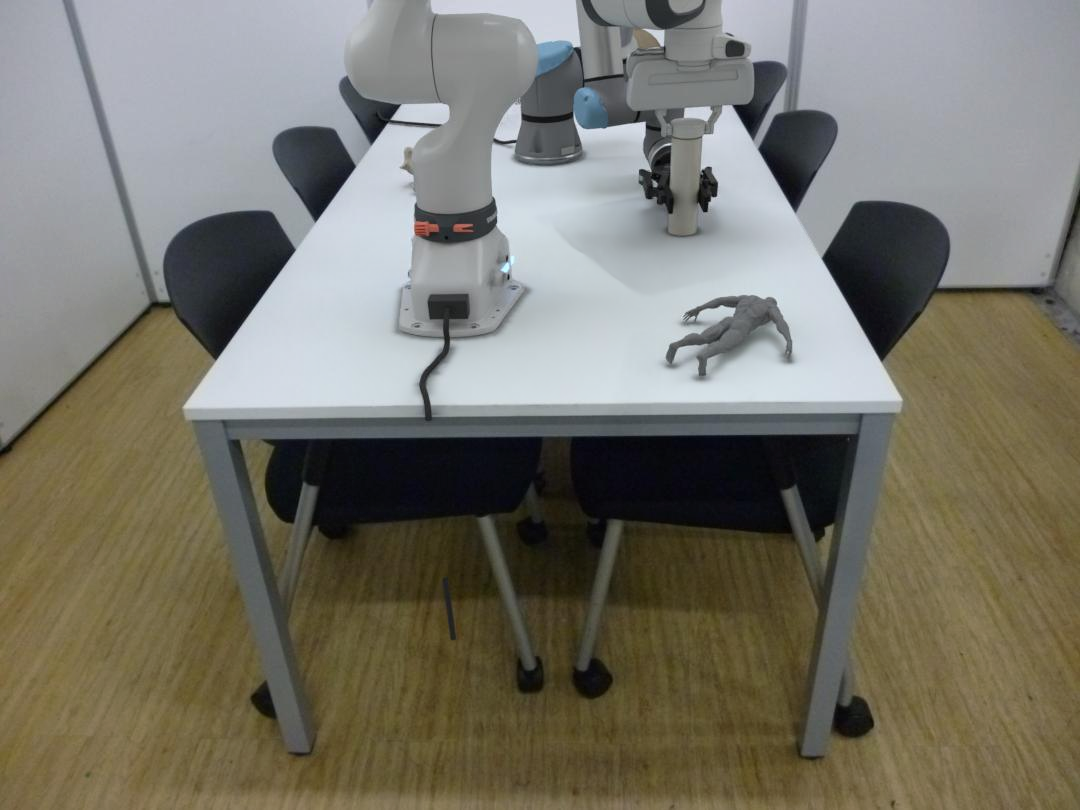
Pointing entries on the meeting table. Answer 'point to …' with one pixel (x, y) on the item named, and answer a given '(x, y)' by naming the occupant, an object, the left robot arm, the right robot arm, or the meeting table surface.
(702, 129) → the lid
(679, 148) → the jar
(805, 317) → the meeting table surface
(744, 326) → the figurine
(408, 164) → the bone
